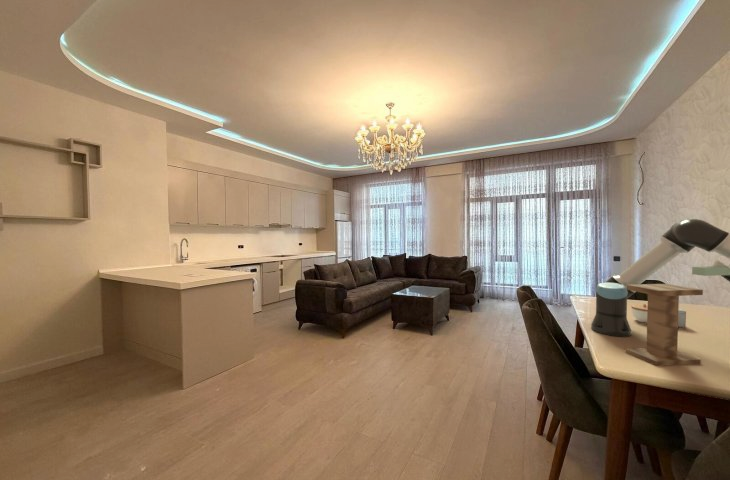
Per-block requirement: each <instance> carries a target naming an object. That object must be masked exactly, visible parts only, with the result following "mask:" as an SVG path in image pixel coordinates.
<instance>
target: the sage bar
mask: <svg viewBox="0 0 730 480" xmlns="http://www.w3.org/2000/svg"><path fill="white" fill-rule="evenodd" d="M728 267H729V265H726V266H713V265H711V266H710V265H709V266H692V268H691V274H692V275H695V276H696V275H697V276H704V277H707V276H708V277H710V276H715V277H716V276H721V275H730V268H728Z"/></svg>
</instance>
